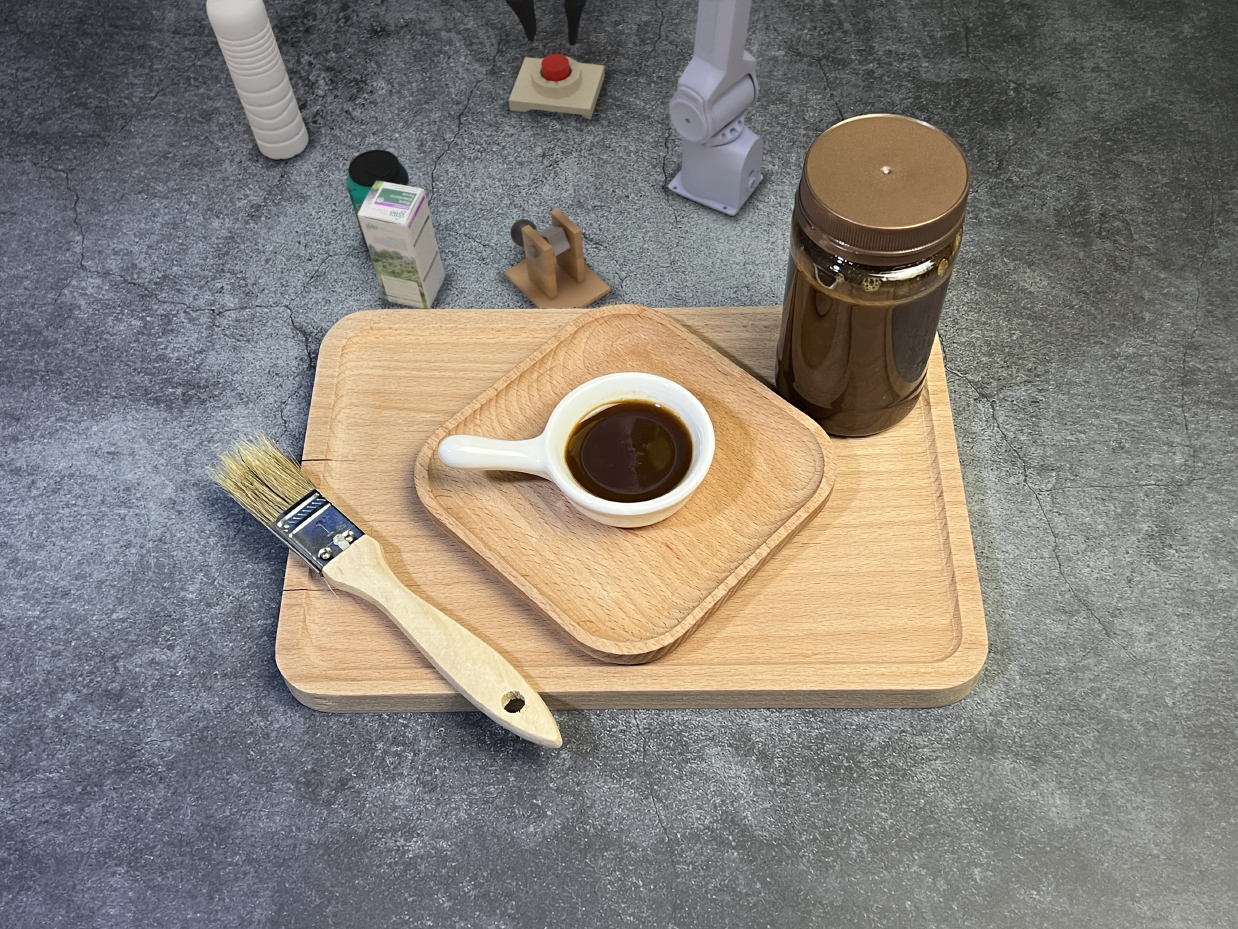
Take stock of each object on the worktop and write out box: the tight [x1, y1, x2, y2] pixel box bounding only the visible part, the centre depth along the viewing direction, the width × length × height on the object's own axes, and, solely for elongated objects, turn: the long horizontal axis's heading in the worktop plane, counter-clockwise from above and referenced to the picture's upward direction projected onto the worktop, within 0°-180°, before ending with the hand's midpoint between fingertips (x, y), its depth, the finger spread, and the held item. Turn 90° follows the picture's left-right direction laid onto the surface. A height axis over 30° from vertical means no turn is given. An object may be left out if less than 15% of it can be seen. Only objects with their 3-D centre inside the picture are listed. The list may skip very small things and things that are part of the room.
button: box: [541, 53, 570, 82], centre depth 144 cm, size 4×4×2 cm
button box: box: [508, 55, 606, 120], centre depth 146 cm, size 11×9×4 cm
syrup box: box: [357, 180, 446, 309], centre depth 123 cm, size 6×6×14 cm
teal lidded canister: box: [346, 149, 412, 254], centre depth 128 cm, size 7×7×12 cm
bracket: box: [504, 208, 612, 309], centre depth 125 cm, size 10×8×9 cm
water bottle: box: [205, 0, 309, 160], centre depth 134 cm, size 9×6×25 cm
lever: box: [509, 218, 570, 256], centre depth 125 cm, size 10×3×3 cm, turn 38°
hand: (552, 38), depth 141 cm, fingers open, 5 cm apart
